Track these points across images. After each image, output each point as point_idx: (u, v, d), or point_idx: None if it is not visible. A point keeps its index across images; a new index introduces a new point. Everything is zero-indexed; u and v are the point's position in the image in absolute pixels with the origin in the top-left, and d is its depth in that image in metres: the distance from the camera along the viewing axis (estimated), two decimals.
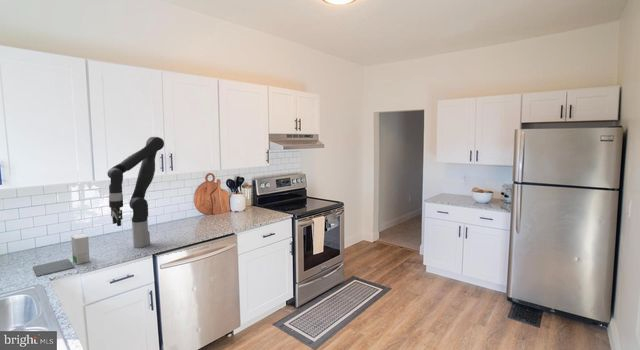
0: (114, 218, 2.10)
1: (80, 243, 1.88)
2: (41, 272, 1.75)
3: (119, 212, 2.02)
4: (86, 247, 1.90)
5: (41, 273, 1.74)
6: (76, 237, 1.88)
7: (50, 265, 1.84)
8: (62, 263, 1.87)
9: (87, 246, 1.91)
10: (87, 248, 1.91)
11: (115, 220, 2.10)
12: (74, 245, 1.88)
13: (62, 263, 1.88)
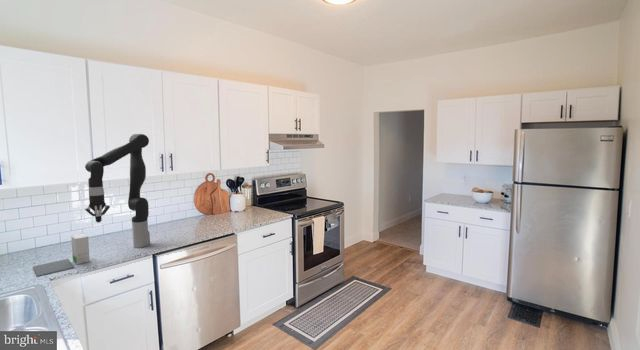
0: None
1: (80, 243, 1.88)
2: (41, 272, 1.75)
3: None
4: (86, 247, 1.90)
5: (41, 273, 1.74)
6: (76, 237, 1.88)
7: (50, 265, 1.84)
8: (62, 263, 1.87)
9: (87, 246, 1.91)
10: (87, 248, 1.91)
11: None
12: (74, 245, 1.88)
13: (62, 263, 1.88)
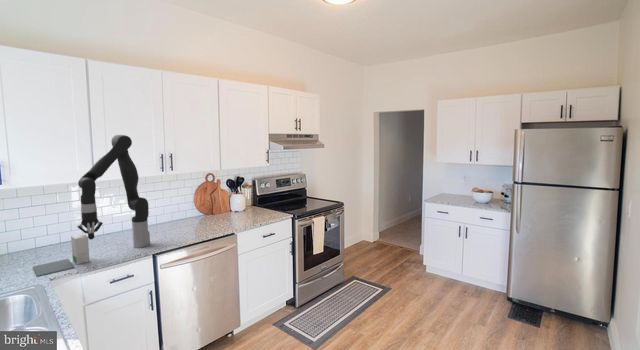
0: None
1: (80, 243, 1.88)
2: (41, 272, 1.75)
3: None
4: (85, 247, 1.90)
5: (41, 273, 1.74)
6: (76, 237, 1.88)
7: (50, 265, 1.84)
8: (62, 263, 1.87)
9: (87, 246, 1.90)
10: (87, 248, 1.91)
11: None
12: (74, 245, 1.88)
13: (62, 263, 1.88)
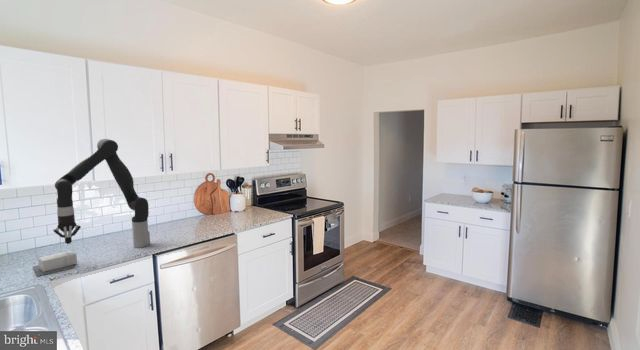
0: None
1: (50, 266, 1.77)
2: (41, 272, 1.75)
3: None
4: (57, 260, 1.79)
5: (41, 273, 1.74)
6: (41, 269, 1.76)
7: None
8: None
9: (56, 259, 1.79)
10: (59, 258, 1.80)
11: None
12: None
13: None
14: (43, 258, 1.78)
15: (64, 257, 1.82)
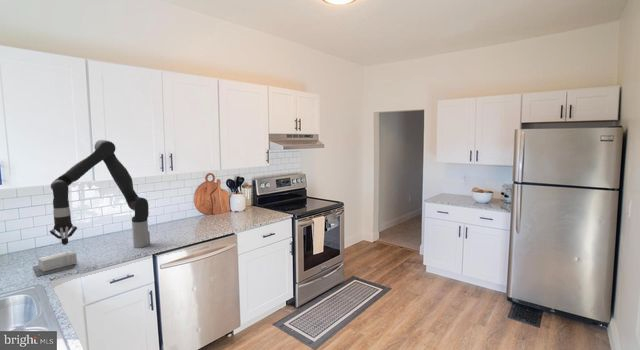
0: (64, 238, 1.85)
1: (50, 266, 1.77)
2: (41, 272, 1.75)
3: None
4: (56, 260, 1.80)
5: (41, 273, 1.74)
6: (41, 269, 1.76)
7: None
8: None
9: (56, 259, 1.79)
10: (58, 258, 1.80)
11: None
12: None
13: None
14: (43, 258, 1.78)
15: (64, 257, 1.82)
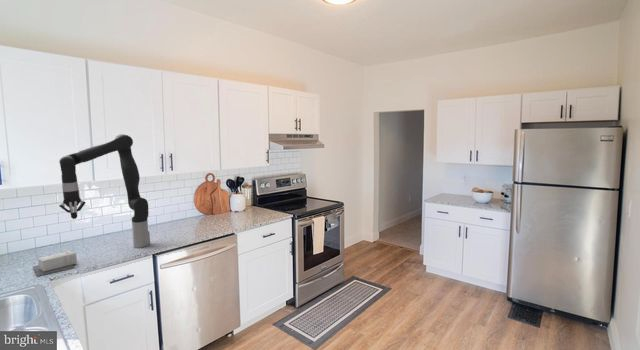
0: (73, 213, 1.92)
1: (50, 266, 1.77)
2: (41, 272, 1.75)
3: None
4: (56, 260, 1.80)
5: (41, 273, 1.74)
6: (41, 269, 1.76)
7: None
8: None
9: (56, 259, 1.79)
10: (58, 258, 1.80)
11: None
12: None
13: None
14: (43, 258, 1.78)
15: (64, 257, 1.82)
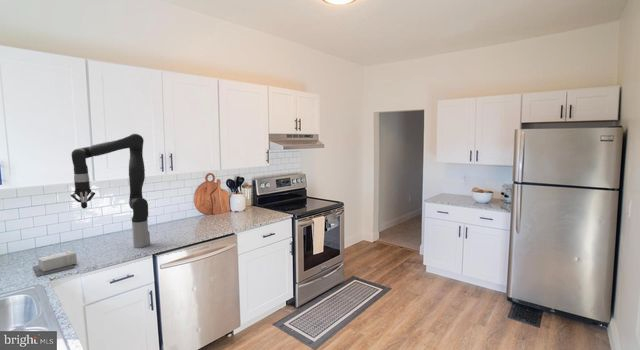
0: None
1: (50, 266, 1.77)
2: (41, 272, 1.75)
3: None
4: (56, 260, 1.80)
5: (41, 273, 1.74)
6: (41, 269, 1.76)
7: None
8: None
9: (56, 259, 1.79)
10: (58, 258, 1.80)
11: None
12: None
13: None
14: (43, 258, 1.78)
15: (64, 257, 1.82)
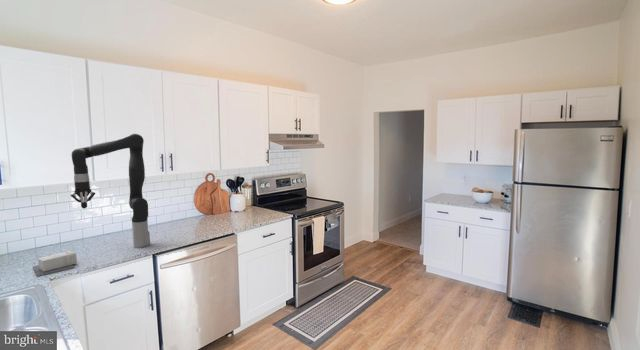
0: None
1: (50, 266, 1.77)
2: (41, 272, 1.75)
3: None
4: (56, 260, 1.80)
5: (41, 273, 1.74)
6: (41, 269, 1.76)
7: None
8: None
9: (56, 259, 1.79)
10: (58, 258, 1.80)
11: None
12: None
13: None
14: (43, 258, 1.78)
15: (64, 257, 1.82)
